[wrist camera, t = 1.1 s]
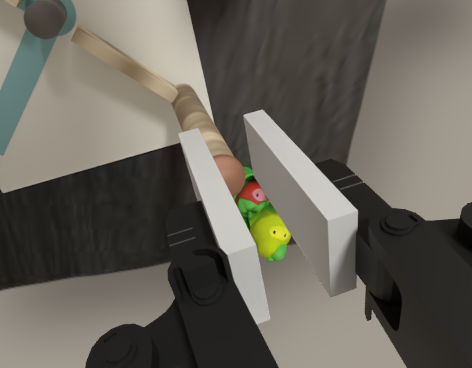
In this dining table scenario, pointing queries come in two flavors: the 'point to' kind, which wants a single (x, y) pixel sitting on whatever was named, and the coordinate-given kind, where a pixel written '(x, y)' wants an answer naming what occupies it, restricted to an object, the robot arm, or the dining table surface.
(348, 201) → the robot arm
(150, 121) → the card
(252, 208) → the fruit basket
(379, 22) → the dining table surface
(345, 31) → the dining table surface
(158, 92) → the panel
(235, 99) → the dining table surface
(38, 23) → the wooden post with ball
